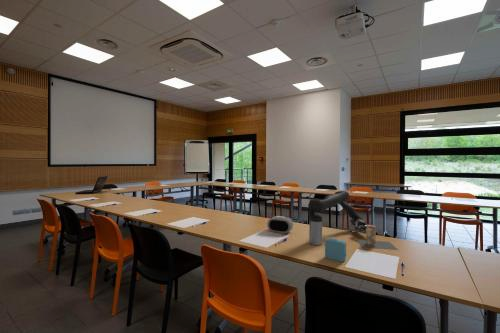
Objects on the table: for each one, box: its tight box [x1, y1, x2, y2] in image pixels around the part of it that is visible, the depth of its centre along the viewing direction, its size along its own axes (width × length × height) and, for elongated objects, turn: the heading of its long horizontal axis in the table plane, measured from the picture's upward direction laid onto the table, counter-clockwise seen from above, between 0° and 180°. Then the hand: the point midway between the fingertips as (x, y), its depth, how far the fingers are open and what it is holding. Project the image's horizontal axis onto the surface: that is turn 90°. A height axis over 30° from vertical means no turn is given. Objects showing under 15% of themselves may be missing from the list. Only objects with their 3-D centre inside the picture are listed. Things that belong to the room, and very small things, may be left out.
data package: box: [324, 237, 347, 263], centre depth 157 cm, size 12×4×12 cm, turn 53°
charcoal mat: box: [356, 239, 399, 251], centre depth 183 cm, size 24×18×1 cm
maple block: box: [365, 224, 377, 246], centre depth 183 cm, size 5×5×14 cm
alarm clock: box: [266, 215, 294, 235], centre depth 215 cm, size 21×10×13 cm, turn 67°
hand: (366, 230), depth 194 cm, fingers open, 8 cm apart
